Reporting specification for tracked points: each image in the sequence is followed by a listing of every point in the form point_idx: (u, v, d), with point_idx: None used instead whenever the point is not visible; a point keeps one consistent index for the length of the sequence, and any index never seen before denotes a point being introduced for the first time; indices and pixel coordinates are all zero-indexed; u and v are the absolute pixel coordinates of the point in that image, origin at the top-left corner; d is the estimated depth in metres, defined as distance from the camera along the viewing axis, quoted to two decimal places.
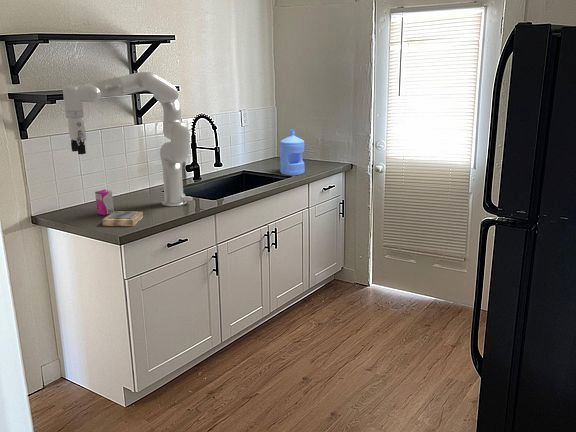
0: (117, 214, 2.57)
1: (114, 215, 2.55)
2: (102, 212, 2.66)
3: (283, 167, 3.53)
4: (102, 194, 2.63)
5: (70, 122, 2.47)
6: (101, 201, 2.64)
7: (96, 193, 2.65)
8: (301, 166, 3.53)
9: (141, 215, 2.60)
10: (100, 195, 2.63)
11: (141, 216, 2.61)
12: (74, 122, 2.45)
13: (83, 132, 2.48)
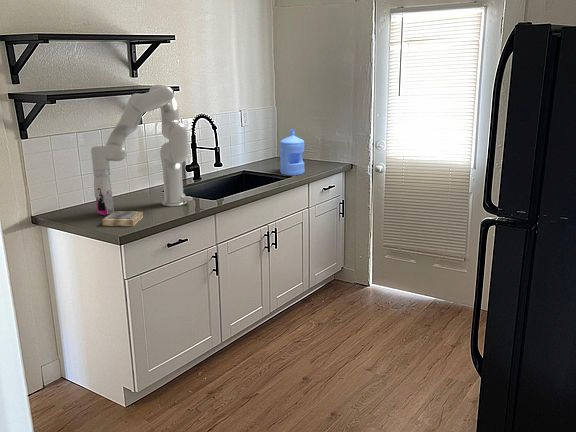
0: (117, 214, 2.57)
1: (114, 215, 2.55)
2: (102, 212, 2.66)
3: (283, 167, 3.53)
4: None
5: (108, 178, 2.65)
6: None
7: None
8: (301, 166, 3.53)
9: (141, 215, 2.60)
10: (100, 195, 2.63)
11: (141, 216, 2.61)
12: None
13: None
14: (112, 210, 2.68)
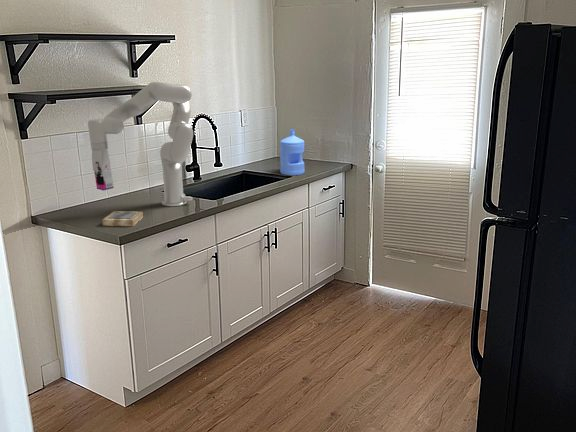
0: (117, 214, 2.57)
1: (114, 215, 2.55)
2: (101, 186, 2.63)
3: (283, 167, 3.53)
4: (100, 168, 2.60)
5: (106, 152, 2.62)
6: None
7: None
8: (301, 166, 3.53)
9: (141, 215, 2.60)
10: (99, 169, 2.60)
11: (141, 216, 2.61)
12: None
13: None
14: (111, 184, 2.65)
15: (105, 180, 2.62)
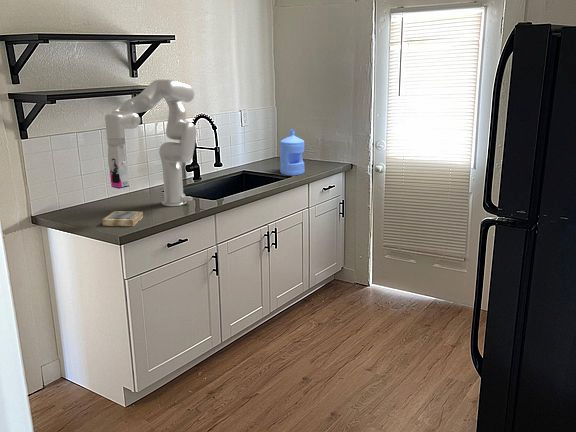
0: (117, 214, 2.57)
1: (114, 215, 2.55)
2: (116, 184, 2.49)
3: (283, 167, 3.53)
4: (116, 165, 2.46)
5: (123, 148, 2.48)
6: None
7: None
8: (301, 166, 3.53)
9: (141, 215, 2.60)
10: (114, 166, 2.46)
11: (141, 216, 2.61)
12: None
13: None
14: (127, 183, 2.51)
15: (121, 178, 2.49)
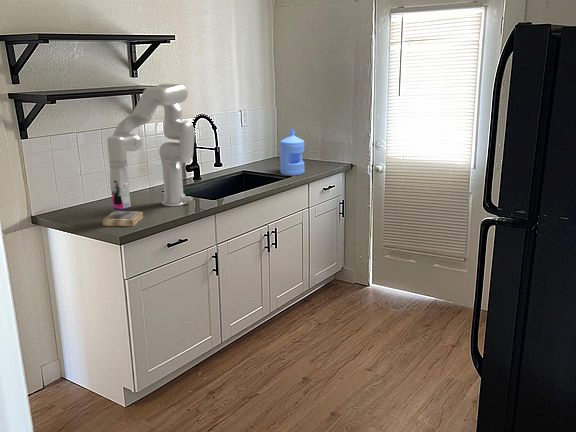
0: (117, 214, 2.57)
1: (114, 215, 2.55)
2: (118, 206, 2.51)
3: (283, 167, 3.53)
4: (118, 187, 2.49)
5: (125, 170, 2.51)
6: None
7: None
8: (301, 166, 3.53)
9: (141, 215, 2.60)
10: (116, 188, 2.49)
11: (141, 216, 2.61)
12: None
13: None
14: (128, 204, 2.54)
15: (122, 199, 2.51)
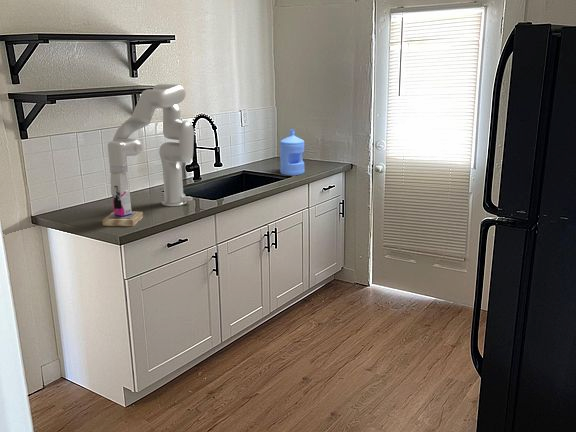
0: None
1: (114, 215, 2.55)
2: (119, 213, 2.52)
3: (283, 167, 3.53)
4: None
5: (125, 175, 2.52)
6: None
7: None
8: (301, 166, 3.53)
9: (141, 215, 2.60)
10: None
11: (141, 216, 2.61)
12: None
13: None
14: (129, 211, 2.55)
15: (124, 206, 2.52)
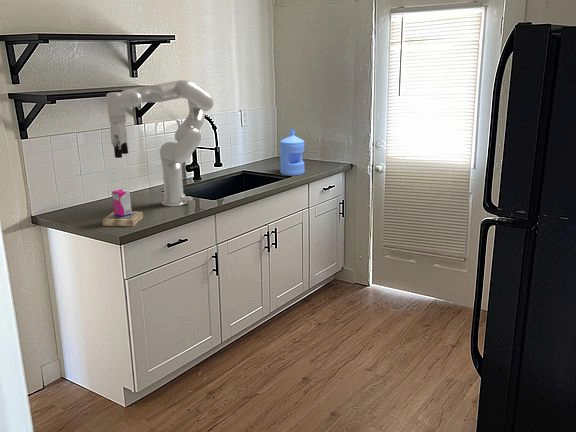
0: None
1: (114, 215, 2.55)
2: (119, 213, 2.52)
3: (283, 167, 3.53)
4: (119, 194, 2.50)
5: (124, 125, 2.62)
6: (118, 201, 2.51)
7: (113, 193, 2.52)
8: (301, 166, 3.53)
9: (141, 215, 2.60)
10: (117, 195, 2.50)
11: (141, 216, 2.61)
12: None
13: None
14: (129, 211, 2.55)
15: (124, 206, 2.52)
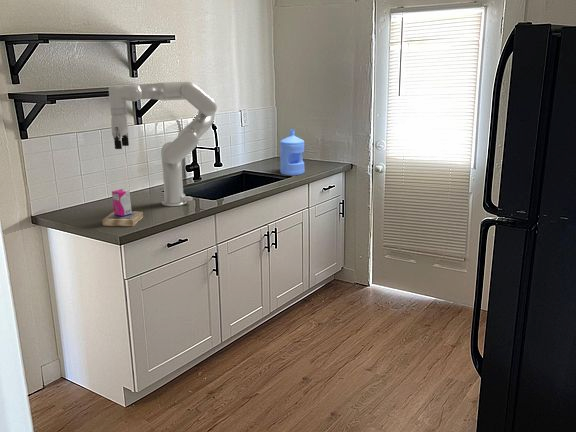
0: None
1: (114, 215, 2.55)
2: (119, 213, 2.52)
3: (283, 167, 3.53)
4: (119, 194, 2.50)
5: (125, 118, 2.70)
6: (118, 201, 2.51)
7: (113, 193, 2.52)
8: (301, 166, 3.53)
9: (141, 215, 2.60)
10: (117, 195, 2.50)
11: (141, 216, 2.61)
12: None
13: None
14: (129, 211, 2.55)
15: (124, 206, 2.52)
